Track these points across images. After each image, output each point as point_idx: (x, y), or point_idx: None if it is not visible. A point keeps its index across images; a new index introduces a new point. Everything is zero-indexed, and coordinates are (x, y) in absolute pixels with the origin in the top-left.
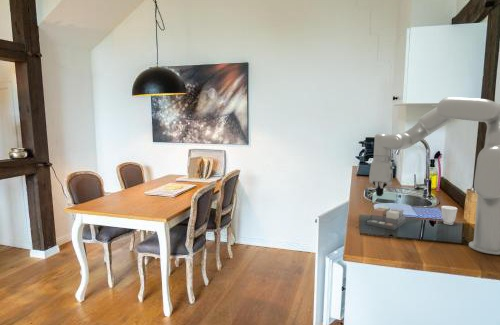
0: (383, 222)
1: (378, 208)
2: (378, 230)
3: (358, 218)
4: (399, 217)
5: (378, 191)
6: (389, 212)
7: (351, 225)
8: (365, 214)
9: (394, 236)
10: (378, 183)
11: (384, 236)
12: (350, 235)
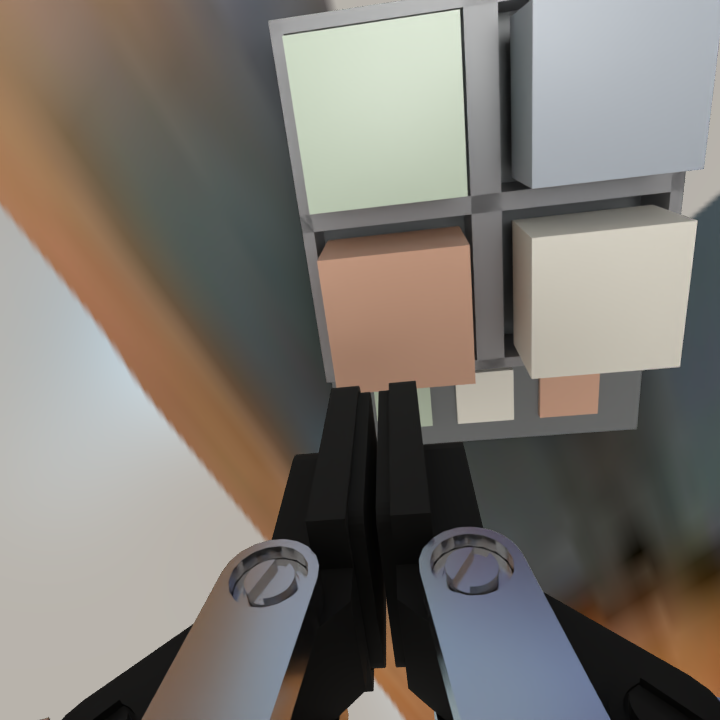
0: (499, 387)
1: (349, 263)
2: (509, 511)
3: (156, 292)
4: (655, 192)
5: (385, 593)
6: (576, 374)
7: (271, 539)
8: (72, 29)
9: (671, 560)
10: (257, 710)
11: (604, 603)
12: (406, 711)
